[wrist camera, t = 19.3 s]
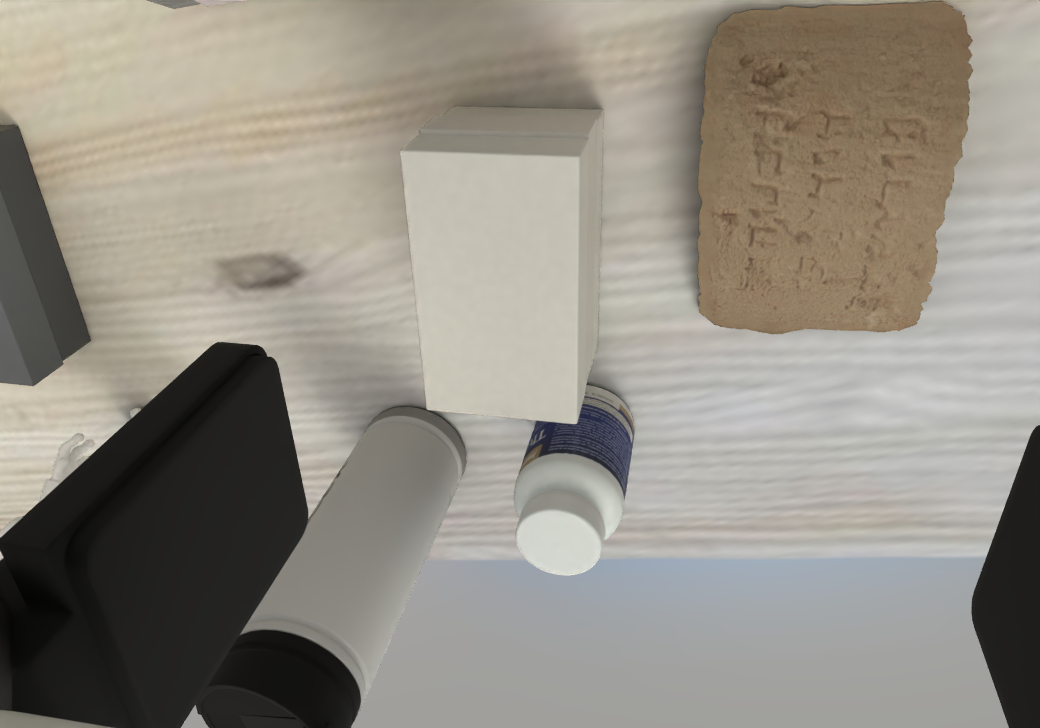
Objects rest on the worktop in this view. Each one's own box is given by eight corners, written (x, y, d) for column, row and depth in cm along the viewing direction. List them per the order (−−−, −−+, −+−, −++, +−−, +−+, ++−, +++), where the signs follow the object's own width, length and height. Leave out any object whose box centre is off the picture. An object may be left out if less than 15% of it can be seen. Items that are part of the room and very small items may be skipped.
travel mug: (485, 485, 48) (361, 805, 31) (387, 493, 50) (221, 798, 33) (455, 398, 45) (301, 697, 29) (352, 410, 47) (152, 697, 31)
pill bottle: (542, 374, 43) (501, 487, 35) (641, 389, 43) (623, 509, 34) (536, 453, 46) (497, 575, 38) (629, 469, 45) (610, 597, 37)
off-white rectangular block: (452, 101, 37) (418, 129, 33) (604, 104, 36) (589, 133, 31) (468, 334, 43) (441, 382, 39) (597, 344, 42) (584, 395, 38)
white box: (419, 133, 33) (398, 150, 31) (589, 138, 32) (580, 155, 29) (441, 382, 39) (425, 410, 37) (585, 395, 38) (577, 425, 36)
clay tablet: (912, 330, 38) (925, 358, 36) (693, 324, 40) (692, 350, 38) (974, -4, 31) (995, 4, 28) (704, 11, 33) (703, 20, 31)
